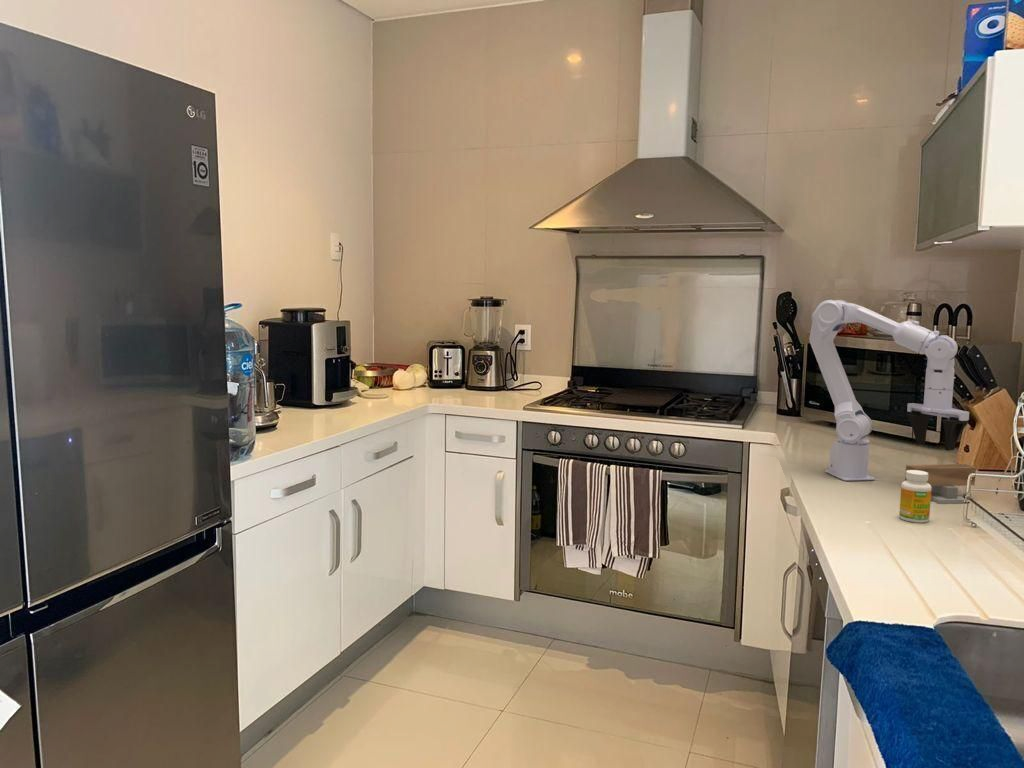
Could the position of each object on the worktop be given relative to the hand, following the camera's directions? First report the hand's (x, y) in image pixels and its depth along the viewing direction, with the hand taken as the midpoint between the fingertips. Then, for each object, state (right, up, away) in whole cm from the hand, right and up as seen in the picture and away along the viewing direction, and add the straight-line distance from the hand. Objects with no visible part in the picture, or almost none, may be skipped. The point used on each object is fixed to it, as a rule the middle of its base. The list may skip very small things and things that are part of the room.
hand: (934, 446), depth 179 cm
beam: (-3, -8, -7) cm, 11 cm away
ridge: (-2, -11, -7) cm, 13 cm away
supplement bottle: (-17, -13, -23) cm, 32 cm away
